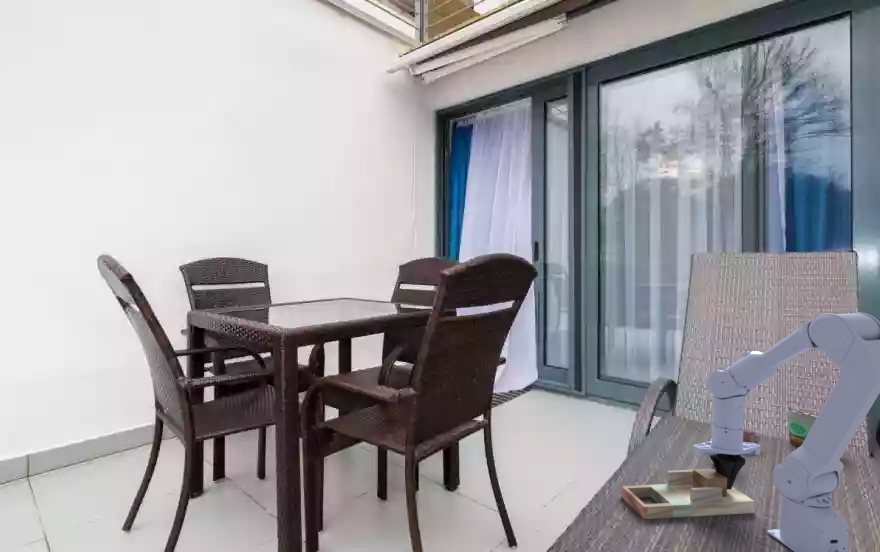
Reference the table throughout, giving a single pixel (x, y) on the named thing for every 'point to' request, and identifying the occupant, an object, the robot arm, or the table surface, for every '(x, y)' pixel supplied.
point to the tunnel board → (684, 498)
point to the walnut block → (709, 479)
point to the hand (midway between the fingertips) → (725, 487)
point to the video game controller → (750, 436)
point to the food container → (799, 425)
